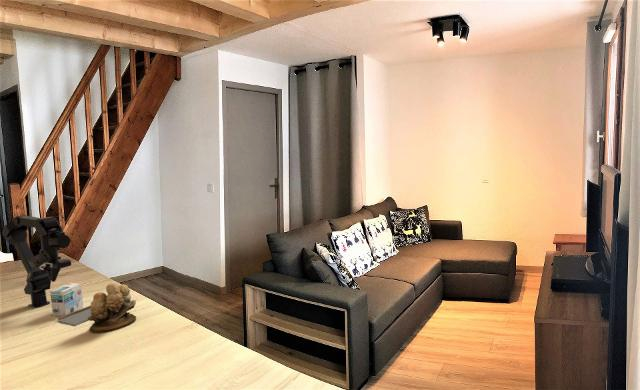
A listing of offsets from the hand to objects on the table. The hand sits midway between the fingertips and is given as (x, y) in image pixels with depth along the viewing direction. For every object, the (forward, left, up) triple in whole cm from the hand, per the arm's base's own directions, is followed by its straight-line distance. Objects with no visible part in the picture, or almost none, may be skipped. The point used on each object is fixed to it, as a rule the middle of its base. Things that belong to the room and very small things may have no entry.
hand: (53, 281), depth 193 cm
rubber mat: (+21, 0, -12) cm, 24 cm away
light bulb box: (+9, 0, -12) cm, 15 cm away
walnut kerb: (+15, 0, -12) cm, 19 cm away
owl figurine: (+41, -2, -12) cm, 42 cm away
